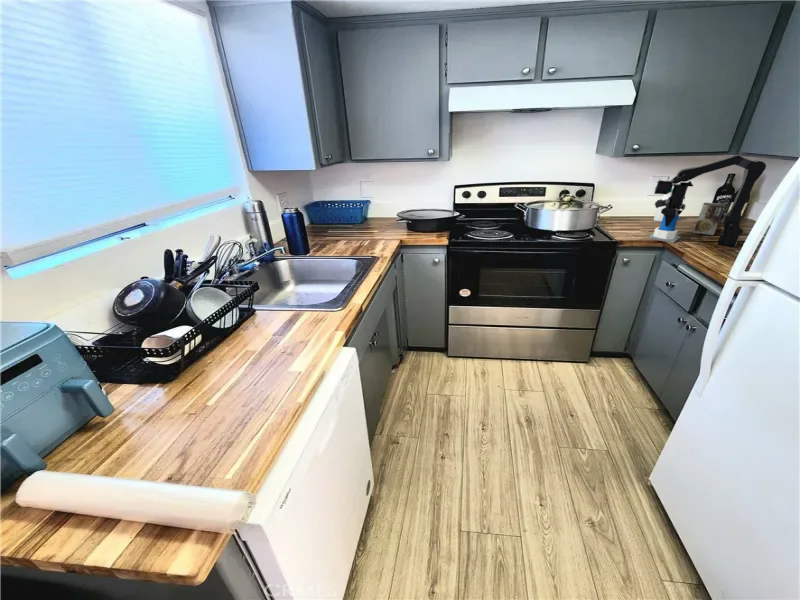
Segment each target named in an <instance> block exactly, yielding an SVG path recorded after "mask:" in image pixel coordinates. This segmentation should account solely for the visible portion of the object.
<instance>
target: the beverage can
mask: <svg viewBox="0 0 800 600" xmlns="http://www.w3.org/2000/svg"><path fill="white" fill-rule="evenodd" d="M678 214H679V213H677V215H676V216H675V218H674V219H673V220H672V221H671V223H670V224H669V225H668V226H665V216H663V219H662V222H660V226H659V227H660V230H664V231H674V230H675V229H676V227H677V222H678V220H679V217H680V215H678Z"/></svg>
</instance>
